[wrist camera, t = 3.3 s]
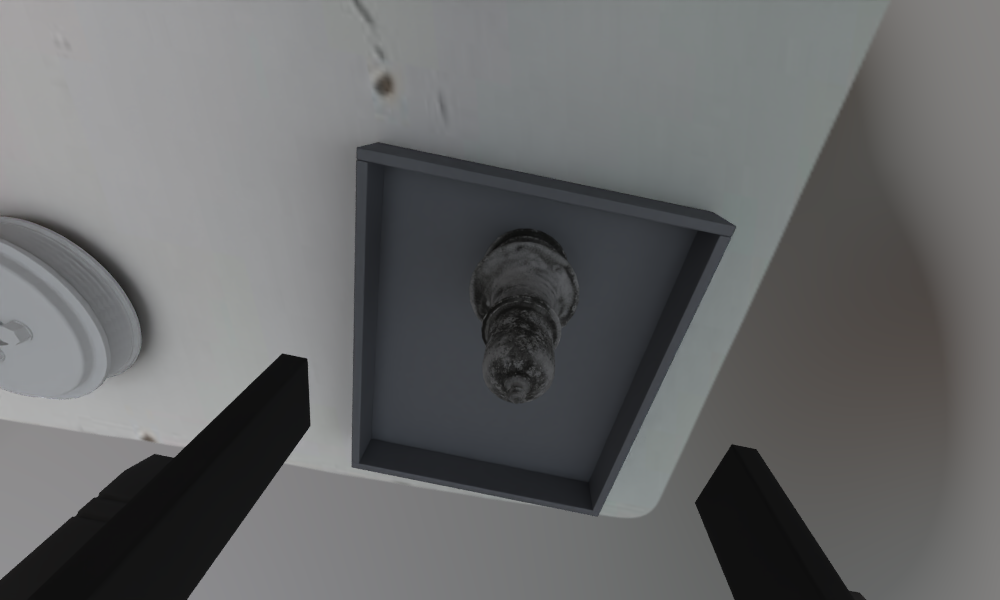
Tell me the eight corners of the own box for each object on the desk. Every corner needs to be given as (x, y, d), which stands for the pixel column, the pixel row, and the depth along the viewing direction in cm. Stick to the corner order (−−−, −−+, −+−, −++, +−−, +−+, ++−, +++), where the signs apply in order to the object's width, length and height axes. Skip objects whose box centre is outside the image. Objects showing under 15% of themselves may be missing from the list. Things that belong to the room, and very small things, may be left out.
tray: (377, 142, 22) (356, 146, 19) (713, 212, 22) (737, 226, 19) (366, 438, 32) (351, 467, 30) (592, 484, 32) (597, 517, 30)
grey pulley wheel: (188, 330, 29) (123, 371, 24) (92, 391, 32) (21, 436, 28) (29, 175, 24) (-85, 191, 20) (-61, 266, 28) (-175, 296, 23)
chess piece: (590, 244, 23) (638, 365, 12) (550, 324, 25) (560, 483, 15) (496, 208, 22) (459, 301, 12) (465, 293, 25) (412, 434, 14)
